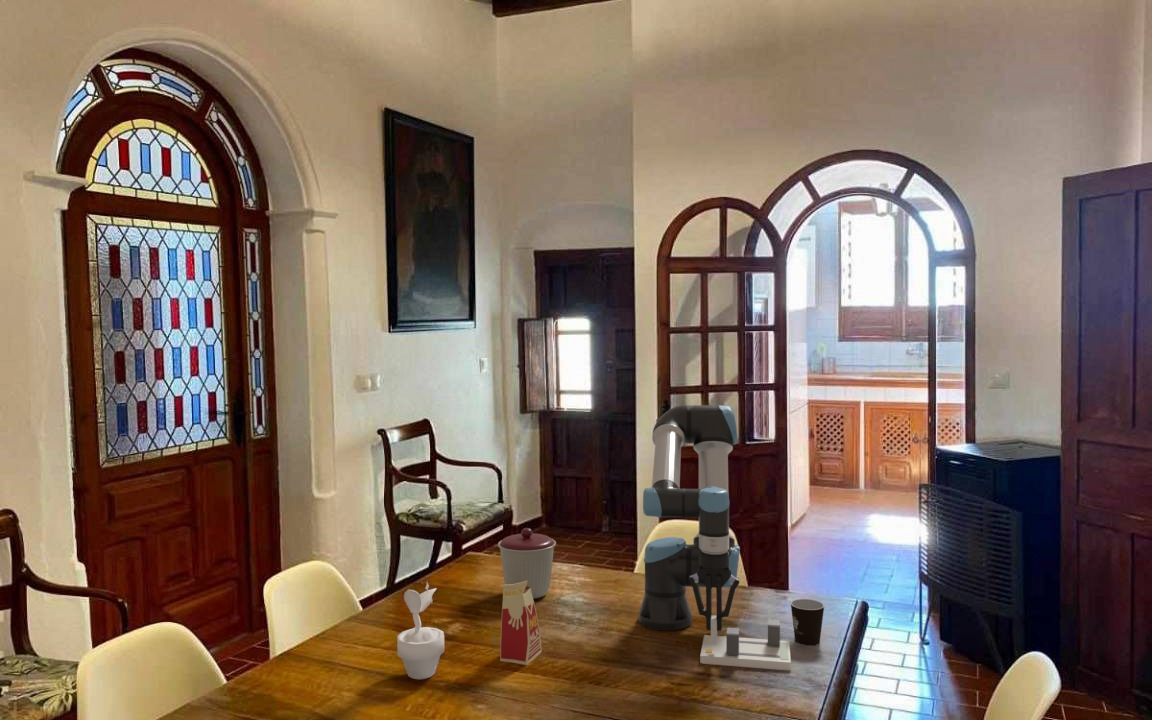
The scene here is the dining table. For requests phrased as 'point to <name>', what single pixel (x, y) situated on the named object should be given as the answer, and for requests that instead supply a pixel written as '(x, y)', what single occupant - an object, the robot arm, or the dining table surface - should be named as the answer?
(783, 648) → the panel
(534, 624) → the milk carton
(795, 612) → the coffee mug
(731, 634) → the block
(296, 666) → the dining table surface
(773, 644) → the block
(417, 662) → the potted plant
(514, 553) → the canister
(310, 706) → the dining table surface
